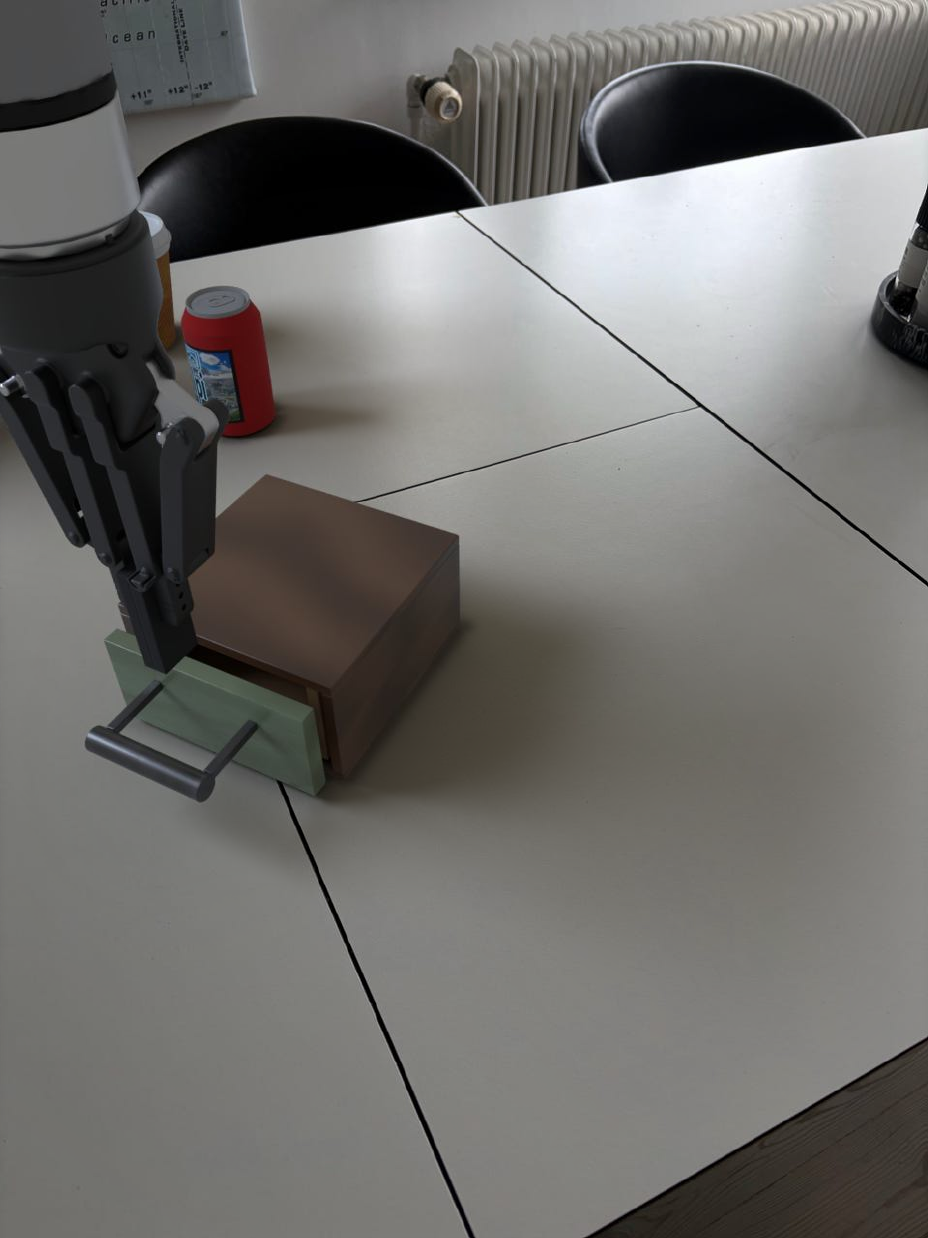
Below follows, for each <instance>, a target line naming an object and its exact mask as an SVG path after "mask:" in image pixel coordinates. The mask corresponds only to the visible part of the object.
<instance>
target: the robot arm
mask: <svg viewBox="0 0 928 1238" xmlns="http://www.w3.org/2000/svg"><path fill="white" fill-rule="evenodd" d="M108 43H109V42H108V39H107V35H106V29H105V25H104V21H103V16H102V11H101V7H100V2H99V0H0V417H1V419H2V420H3V422H4V424H5V426H6V427H7V429H8V432H9V433H10V435H11V437H12V439H13V441H14V442H15V445H16V447H17V448H18V450H19V452H20V454H21V455H22V458H23V459H24V461H25V463H26V465H27V467H28V469H29V471H30V472H31V474H32V477H33V478H34V480H35V482H36V483H37V485H38V487H39V489H40V491H41V492H42V494H43V497H44V498H45V500H46V502H47V505H48V506H49V508H50V509H51V512H52V513H53V515H54V517H55V519H56V521H57V522H58V524H59V526H60V528H61V530H62V532H63V533H64V536H65V538H66V539H67V541H68V542H69V543H70V544H71V545H72V546H74V547H76V548H79V549H82V548H84V547H85V546H86V545H88V546H90V547H91V548H92V549H93V550H94V552H95V553H94V554H95V556H96V558H97V559H98V561H99V562H100V563H101V564H102V565H104V566H105V567H107V568H108V569H109V573H110V576H111V579H112V582H113V584H114V587H115V590H116V594H117V597H118V599H119V602H121V603H122V604H123V606H124V607H125V608H127V611H128V614H129V618H130V621H131V624H132V627H133V630H134V633H135V636H136V639H137V643H138V646H139V649H140V652H141V655H142V658H143V661H144V664H145V666H147V667H149V668H152V669H154V670H156V671H159V672H161V673H164V674H166V675H167V674H168V673H169V672H170V671H171V670H172V669H173V668H174V667H175V666H176V665H177V664H178V663H179V662H180V661H181V660H182V659H183V658H184V657H185V656H186V655H187V654H188V653H189V652H190V651H191V650H192V649H193V648H194V647H195V646H196V645H197V644H198V640H197V636H196V632H195V628H194V625H193V621H192V617H191V612H192V611H193V609H194V601H193V597H192V593H191V590H190V585H189V581H188V577H189V576H190V575H191V574H192V573H194V572H195V571H196V570H197V569H198V568H199V567H200V566H201V565H202V564H203V563H205V562H206V561H207V560H208V559H209V558H210V557H211V556H212V555H213V554H214V552H215V525H216V517H217V482H218V481H217V480H218V479H217V477H218V443H219V441H220V439H221V437H222V436H223V435H222V433H223V431H224V429H225V428H226V426H227V424H228V422H229V419H230V414H229V411H228V409H227V407H226V406H225V405H224V403H223V402H221V401H220V400H218V399H215V398H211V399H209V400H208V401H206V402H205V403H204V404H202V405H201V404H200V403H199V402H198V401H197V399H196V398H194V397H193V396H192V395H191V394H190V393H188V391H187V390H185V389H184V388H183V387H182V386H181V385H180V384H178V383H177V382H176V368H175V364H174V362H173V360H172V358H171V356H170V355H169V353H168V352H167V349H164V347H163V345H162V343H161V341H160V338H159V336H158V332H157V326H158V319H159V314H160V310H161V306H162V302H163V288H162V283H161V279H160V274H159V270H158V265H157V261H156V256H155V252H154V247H153V243H152V238H151V234H150V229H149V225H148V221H147V219H146V218H145V217H144V216H143V215H142V214H141V213H139V212H138V211H139V210H138V209H137V207H138V205H139V204H140V201H141V198H142V197H141V190H140V185H139V180H138V176H137V172H136V166H135V163H134V158H133V154H132V149H131V144H130V139H129V135H128V129H127V126H126V121H125V117H124V113H123V108H122V102H121V99H120V94H119V90H118V84H117V81H116V75H115V71H114V68H113V62H112V58H111V57H112V56H111V52H110V49H109V44H108ZM24 396H25V397H24ZM80 512H81V513H82V515H81V516H80V514H79V513H80Z"/></svg>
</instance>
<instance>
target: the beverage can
mask: <svg viewBox="0 0 928 1238" xmlns="http://www.w3.org/2000/svg"><path fill="white" fill-rule="evenodd" d="M184 304H185V308H184V310H183V312H182V315H181V319H180V325H181V332H182V336H183V341H184V346H185V350H186V356H187V360H188V366H189V370H190V375H191V379H192V383H193V388H194V393H195V397H196V398H195V399H196V401H198V402H199V403H200V404H201V405H202V404H204V403H205V402H206V401H208V400H209V399H211V398H215V399H218V400H220V401H221V402H223V403H224V405H225V406H226V407H227V409H228V411H229V414H230V419H229V422H228V424H227V426H226V428H225V429H224V431H223V433H222V435H221V436H227V437H243V436H247V435H248V436H249V435H251V434H255V433H257V432H259V431H261V430H262V429H264V428H266V427H267V426H269V425H270V424H271V423H272V422H273V420H274V419H275V416H276V405H275V399H274V393H273V392H274V391H273V385H272V378H271V371H270V365H269V358H268V352H267V345H266V339H265V333H264V328H263V321H262V315H261V311H260V310H259V308H258V307H257V305H256V304H255V303H254V301H252V299H251V296H250V294H249V292H247V291H246V290H245V289H243V288H241V287H238V286H234V285H233V286H232V285H213V286H209V287H204V288H200V289H198V290H196V291H194V292H192V293H191V294H189V295H188V296H187V297H186V299H185V302H184Z"/></svg>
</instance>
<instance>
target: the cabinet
mask: <svg viewBox="0 0 928 1238" xmlns="http://www.w3.org/2000/svg"><path fill="white" fill-rule="evenodd" d="M460 558H461V556H460V535H459V534H457V533H454V532H452V531H447V530H445V529H441V528H438V527H435V526H431V525H430V524H425V523H422V522H420V521H417V520H413V519H410V518H407V517H404V516H400V515H397V514H394V513H392V512H387V511H385V510H381V509H378V508H375V507H371V506H369V505H365V504H363V503H360V502H356V501H353V500H351V499H350V500H349V499H347V498H343V497H340V496H337V495H334V494H331V493H327V492H324V491H321V490H318V489H315V488H312V487H309V486H306V485H302V484H300V483H296V482H292V481H289V480H287V479H283V478H280V477H277V476H274V475H272V474H271V475H270V474H267V473H265V474H264V475H263V476H262V477H260V478H259V480H257V481H256V482H255V483H254V484H253V485H252V486H251V487H250V488H248V489H247V490H246V491H244V492H243V493H242V494H241V495H240V496H239V497H238V498H237V499H236V500H234V501H233V502H232V503H231V504H229V506H228V507H226V508H225V509H224V510H223V511H221V513H220V514H218V515H216V525H215V552H214V554H213V555H212V556H211V557H210V558H209V559H208V560H207V561H206V562H205V563H203V564H202V565H201V566H200V567H199V568H198V569H197V570H196V571H195V572H194V573H192V574H191V575H190V576H189V577H188V581H189V585H190V590H191V593H192V597H193V601H194V609H193V611H192V612H191V617H192V621H193V625H194V628H195V632H196V636H197V640H198V644H199V645H202V646H204V647H207V648H209V649H212V650H214V651H217V652H219V653H222V654H224V655H227V656H229V657H232V658H234V659H237V660H239V661H242V662H244V663H247V664H249V665H252V666H254V667H257V668H259V669H262V670H264V671H267V672H269V673H272V674H275V675H277V676H280V677H282V678H285V679H287V680H290V681H292V682H295V683H297V684H300V685H302V686H305V687H307V688H310V689H312V690H315V691H317V692H320V693H322V694H321V695H322V701H323V708H324V715H325V721H326V728H327V735H328V741H329V748H330V755H331V756H330V757H329V759H328V760H327V759H324V758H322V763H323V769H324V773H326V774H328V775H330V776H333V777H335V778H338V779H339V780H342V781H345V780H346V779H347V777H348V776H349V775H350V774H351V772H352V771H353V770H354V768H355V766H356V765H358V763H359V761H360V760H361V759H362V758H363V756H364V755H365V754H366V752H367V751H368V750H369V748H370V747H371V746H372V744H373V743H374V741H376V739H377V738H378V736H379V735H380V733H381V732H382V731H383V730H384V728H385V727H386V726H387V724H388V723H389V722H390V720H391V719H392V718H393V717H394V715H395V714H396V712H397V711H398V710H399V708H400V707H401V706H402V704H403V703H405V701H406V699H407V698H408V696H410V695H411V693H412V691H413V690H414V688H415V687H416V686H417V684H418V683H419V681H420V680H421V679H422V678H423V677H424V675H425V674H426V673H427V671H428V670H429V669H430V668H431V666H432V665H433V663H434V662H435V661H436V659H437V658H438V656H439V655H440V654H441V653H442V651H443V650H444V649H445V648H446V646H447V644H448V643H449V642H450V641H451V639H452V638H453V637H454V635H455V634H456V633H457V632H458V630H459V629H460V627H461V567H460V565H461V564H460V562H461V560H460ZM117 607H118V610H119V613H120V617H121V620H122V623H123V626H124V629H125V630H124V631H125V632H127V633H130V634H132V635H135V633H134V630H133V627H132V624H131V621H130V618H129V614H128V611H127V608H125V607H124V606H123V604H122V603H121V601H119V602H118V603H117Z"/></svg>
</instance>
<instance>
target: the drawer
mask: <svg viewBox="0 0 928 1238" xmlns="http://www.w3.org/2000/svg"><path fill="white" fill-rule="evenodd" d="M103 643H104V645H105V648H106V651H107V654H108V657H109V660H110V662H111V665H112V668H113V672H114V674H115V677H116V681H117V684H118V686H119V687H120V692H121V693H122V698H123V700H124V703H125V705H126V706H125V707H124V708H123V709H122V710H121V712H119V713H118V714H117V715H116V716H115V717H114V718H113V719H112V720H111V721H110V722H109V723H108V724H107V725H106V726H104V725H101V724H99V725H95V726H94V727H92V728H91V729H90V730H89V731H88V733H87V735H86V736H85V739H84V747H85V748H84V749H86V751H88V752H90V753H92V754H94V755H96V756H99V757H101V758H103V759H105V760H107V761H109V762H111V763H114V764H116V765H118V766H120V767H122V768H124V769H126V770H128V771H131V772H133V773H135V774H137V775H139V776H141V777H144V778H146V779H148V780H150V781H152V782H154V783H156V784H159V785H161V786H162V787H165V788H167V789H170V790H172V791H174V792H176V793H178V794H179V795H183V796H184V797H186V798H189V799H191V800H193V801H195V802H197V803H204V802H206V801H207V800H208V799H209V798H210V797H211V795H212V794H213V793H214V790H215V786H216V778H217V777H218V776H219V774H221V772H223V770H224V769H226V767H227V766H228V764H230V762H231V761H234V762H236V763H239V764H240V765H243V766H245V767H248V768H249V769H252V770H254V771H256V772H258V773H261V774H263V775H265V776H268V777H271V778H272V779H274V780H277V781H279V782H282V783H284V784H286V785H288V786H291V787H292V788H295V789H297V790H300V791H302V792H304V793H307V794H308V795H311V796H313V797H316V796H317V795H318V793H319V792H320V791H321V790H322V788H323V787H324V786H325V784H326V782H327V781H326V776H325V772H324V769H323V763H322V758H324V759H327V760H328V759H329V757H330V756H331V755H330V748H329V741H328V735H327V728H326V721H325V715H324V708H323V701H322V695H321V694H322V693H320V692H317V691H315V690H312V689H310V688H307V687H305V686H302V685H300V684H297V683H295V682H292V681H290V680H287V679H285V678H282V677H280V676H277V675H275V674H272V673H269V672H267V671H264V670H262V669H259V668H257V667H254V666H252V665H249V664H247V663H244V662H242V661H239V660H237V659H234V658H232V657H229V656H227V655H224V654H222V653H219V652H217V651H214V650H212V649H209V648H207V647H204V646H202V645H199V644H197V645H196V646H195V647H194V648H193V649H192V650H191V651H190V652H189V653H188V654H187V655H186V656H185V657H184V658H183V659H182V660H181V661H180V662H179V663H178V664H177V665H176V666H175V667H174V668H173V669H172V670H171V671H170V672H169V673H168V674H167V675H166V674H164V673H161V672H159V671H156V670H154V669H152V668H149V667H147V666H145V664H144V661H143V658H142V655H141V652H140V649H139V646H138V643H137V639H136V636H135V635H132V634H130V633H127V632H126V630H122V629H120V628H115V629H114V630H113V631H112V632H111V633H110V634H108V636H106V637H105V638H104V639H103ZM135 718H136V719H139V720H140V721H143V722H145V723H146V724H147V723H148V724H150V725H152V726H154V727H156V728H159V729H161V730H163V731H165V732H168V733H170V734H172V735H175V736H177V737H179V738H181V739H184V740H186V741H188V742H190V743H193V744H194V745H198V746H199V747H202V748H204V749H206V750H209V751H211V752H213V753H216V755H215V756H214V758H213V759H211V760H210V762H209V763H208V764H207V766H205V768H203V769H199V768H198V767H195V766H193V765H190V764H188V763H186V762H184V761H182V760H180V759H177V758H175V757H173V756H171V755H168V754H166V753H164V752H162V751H160V750H157V749H155V748H154V747H151V746H150V745H149V746H148V745H146V744H144V743H142V742H139V741H138V740H136V739H133V738H131V737H128V736H126V735H124V734H122V733H121V732H122V731H123V730H124V729H126V727H127V726H128V725H129V724H130V723H131V722H133V720H134V719H135Z"/></svg>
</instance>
